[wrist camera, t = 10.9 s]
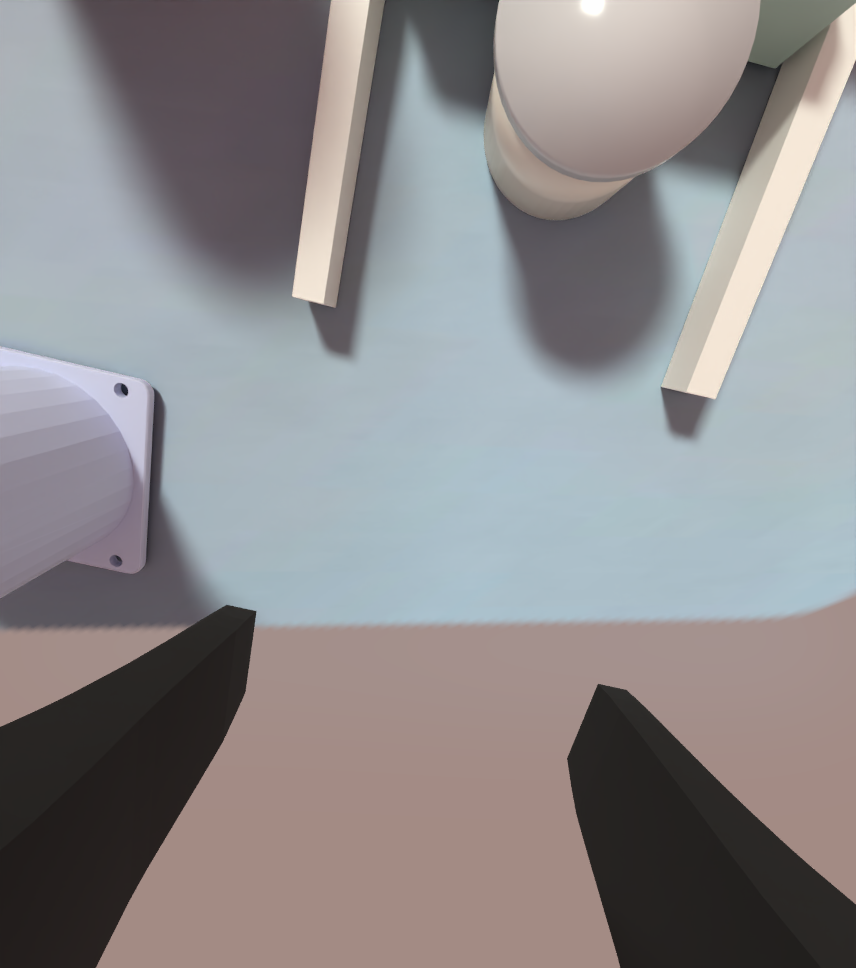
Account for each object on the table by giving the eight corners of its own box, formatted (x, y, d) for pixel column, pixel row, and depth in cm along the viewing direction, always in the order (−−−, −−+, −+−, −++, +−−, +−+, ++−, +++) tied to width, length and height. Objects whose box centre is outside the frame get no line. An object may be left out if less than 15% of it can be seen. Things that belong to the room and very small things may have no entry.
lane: (307, 301, 16) (266, 288, 12) (387, -258, 12) (362, -534, 8) (687, 393, 17) (759, 408, 13) (885, -110, 13) (1076, -304, 9)
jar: (458, 204, 15) (467, 139, 10) (504, 2, 14) (540, -189, 9) (614, 245, 16) (697, 200, 11) (677, 51, 14) (808, -109, 9)
